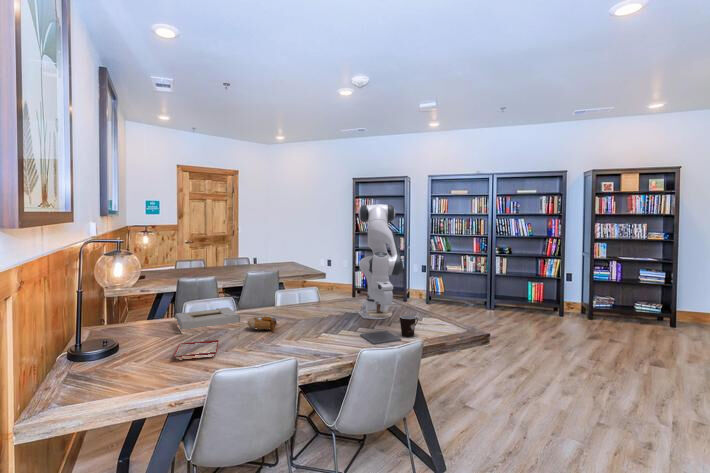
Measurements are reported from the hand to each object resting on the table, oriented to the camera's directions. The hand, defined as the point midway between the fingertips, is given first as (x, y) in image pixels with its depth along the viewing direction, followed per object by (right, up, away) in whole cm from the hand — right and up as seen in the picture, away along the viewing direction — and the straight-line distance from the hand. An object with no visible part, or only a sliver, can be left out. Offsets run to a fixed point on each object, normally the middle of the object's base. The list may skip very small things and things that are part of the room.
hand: (379, 310), depth 203 cm
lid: (0, -2, 0) cm, 2 cm away
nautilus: (-63, -14, +14) cm, 66 cm away
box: (-99, -14, +25) cm, 103 cm away
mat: (0, -15, 0) cm, 15 cm away
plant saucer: (-86, -16, -23) cm, 90 cm away
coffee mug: (+17, -15, +5) cm, 23 cm away
